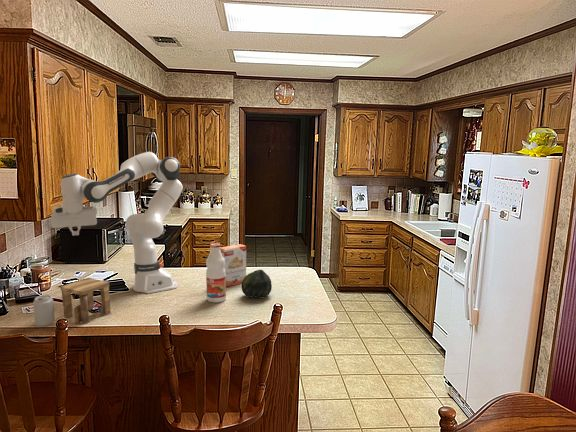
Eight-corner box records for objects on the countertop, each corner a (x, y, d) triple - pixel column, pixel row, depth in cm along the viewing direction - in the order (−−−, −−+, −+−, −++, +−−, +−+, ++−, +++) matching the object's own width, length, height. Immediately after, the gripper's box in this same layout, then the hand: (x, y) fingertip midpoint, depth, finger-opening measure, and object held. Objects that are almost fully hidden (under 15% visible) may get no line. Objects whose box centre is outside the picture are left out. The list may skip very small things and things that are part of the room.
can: (32, 324, 187) (29, 297, 184) (50, 318, 192) (47, 292, 190) (40, 329, 182) (37, 301, 180) (58, 323, 188) (56, 296, 186)
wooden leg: (100, 314, 197) (98, 289, 195) (104, 315, 196) (103, 290, 194) (80, 322, 188) (77, 296, 186) (84, 323, 187) (82, 297, 185)
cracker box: (225, 287, 233) (224, 249, 229) (219, 284, 237) (218, 247, 234) (247, 282, 242) (246, 245, 238) (240, 279, 246) (240, 243, 242)
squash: (237, 281, 226) (243, 265, 215) (265, 279, 232) (272, 263, 221) (242, 306, 218) (248, 291, 207) (270, 303, 224) (278, 288, 213)
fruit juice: (229, 297, 218) (228, 243, 213) (219, 304, 210) (218, 247, 205) (213, 295, 222) (212, 241, 217) (203, 301, 214) (201, 245, 209)
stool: (111, 312, 199) (109, 282, 196) (81, 325, 185) (78, 293, 183) (90, 307, 205) (88, 277, 203) (59, 319, 192) (57, 287, 189)
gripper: (96, 205, 220) (98, 231, 223) (50, 207, 212) (53, 235, 215) (96, 207, 214) (98, 234, 217) (49, 210, 206) (52, 238, 209)
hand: (75, 235), depth 216 cm, fingers closed
